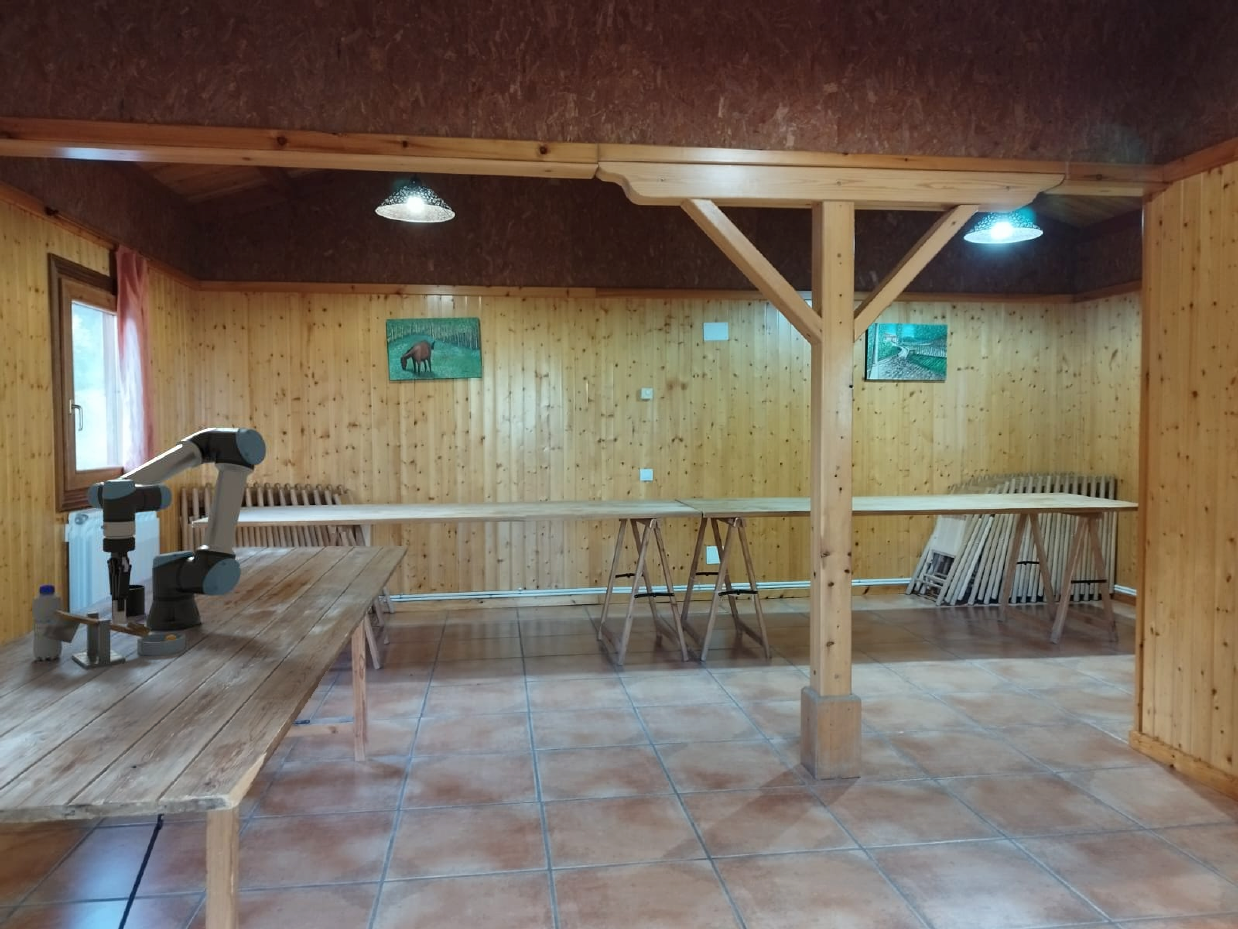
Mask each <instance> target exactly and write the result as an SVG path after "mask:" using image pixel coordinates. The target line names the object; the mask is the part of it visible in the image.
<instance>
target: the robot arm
mask: <svg viewBox="0 0 1238 929" xmlns="http://www.w3.org/2000/svg"><path fill="white" fill-rule="evenodd" d="M266 455H267V445H266V443H265V440H264V438H263V435H262V434H261V433H260V432H259V431H258V430H256V429H253V428H245V427H210V428H209V427H208V428H206V429H203V430H199V431H198V432H194V433H193V434H191V435H188V436H186V437H185V438H182V439H181V440H178V441H177V443H176V444H175V446H174V447H173V448H171V449H170V450H169V449H168V450H167V451H166V452H164V453H162V454H160V455H158V456H155V457H154V458H153V459H151V460H149V461H147V462H146V463H145V462H144V463H143V464H141V465H140V466H137V467H136V468H133V470H130V471H128V472H126V473H125V474H122V475H121V476H119V477H117V478H116V479H108V480H105V481H104V482H97V483H94V484H92V485H91V486H90V487H89V488H88V491H87V493H86V499H87V502H88V504H89V505H90V506H91V507H92V508H95V509H100V510H102V525H100V529H102V535H103V537H104V538H103V539H102V551H103V552H104V553H108V554H109V553H110V557H109V558H108V559H107V560H106V563H107V564H106V565H107V568H108V569H107V572H108V582H109V595H110V596H111V601H112V600H113V616H112V623H114V624H119V625H120V624H124V623H127V617H126V598H128V597H129V586H130V585H131V584H130V583H131V572H132V569H133V568H132V567H133V565H132V564H131V562H130V557H129V556H128V555H129V554H128V552H134V551H135V550H136V537H135V535H136V533H137V532H136V530H137V528H136V514H138V513H149V512H158V511H163V510H166V509H168V508H169V507H170V506H171V503H172V501H173V494H172V491H171V489H170V488H169V487H168V486H167V485H165V484H163V483H164V482H167V481H169V480H170V479H172V478H173V477H175V476H177V475H178V474H180V473H182V472H184V471H186V470H187V469H189V468H190V469H191V468H192V469H194V468H197V467H200V466H202V465H204V464H205V465H206V464H214V467H215V468H216V469H217V471H218V473H217V478H216V483H215V487H214V490H213V495H212V500H211V505H210V509H209V514H208V517H207V518H208V519H207V522H206V527H205V531H204V537H203V539H202V540H203V541H202V544H201V545H200V546H199V547H196V549H195V551H194V550H182V551H181V550H180V551H174V552H168V553H167V552H166V553H161V554H157V555H155V556H154V558H153V561H152V568H151V571H152V573H151V574H152V576H151V577H152V603H151V606H150V609H149V612H148V615H147V617H146V623H145V624H146V625H145V627H149V628H151V630H157V631H161V630H162V631H170V630H171V631H172V630H179V629H180V630H182V629H186V628H192V627H195V626H198V625H199V624H201V620H202V619H201V614H200V612H199V608H198V605H197V602H196V599H195V595H204V596H211V597H214V596H226V595H228V594H229V593H230V592H232V590H234V589H235V588H236V586H237V585H238V584H239V581H240V578H241V574H242V569H241V565H240V563H239V561H237V559H236V556H237V554H236V552H235V551H234V550H233V547H234V541H235V536H236V532H237V527H238V522H239V518H240V513H241V510H242V504H243V499H244V496H245V490H246V489H245V488H246V486H247V480H248V477H249V476H250V475H252V474H254V471H255V467H256V466H257V465H260V464H262V463H263V461H264V460H265V458H266Z"/></svg>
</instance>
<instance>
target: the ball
mask: <svg viewBox="0 0 1238 929" xmlns="http://www.w3.org/2000/svg"><path fill="white" fill-rule="evenodd" d="M175 639H177V637H176V636H175V635H169V636H167V637H166V638H165V641H171V640H175Z"/></svg>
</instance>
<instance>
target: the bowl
mask: <svg viewBox="0 0 1238 929" xmlns="http://www.w3.org/2000/svg"><path fill="white" fill-rule="evenodd" d="M169 635H175V636H176V637H177V639H175V640H171V641H165V638H166V637H167V636H169ZM136 644H137V653H138V654H139V655H141V656H142V655H143V656H163V655H164V656H165V655H170V654H175V653H178V652H181V651H184V649H185V648H186V634H184V633H181V632H174V631H170V632H158V633H152V634H150V633H149V635H148V637H147V638H144V637H139V638H138V639H137V643H136Z"/></svg>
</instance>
